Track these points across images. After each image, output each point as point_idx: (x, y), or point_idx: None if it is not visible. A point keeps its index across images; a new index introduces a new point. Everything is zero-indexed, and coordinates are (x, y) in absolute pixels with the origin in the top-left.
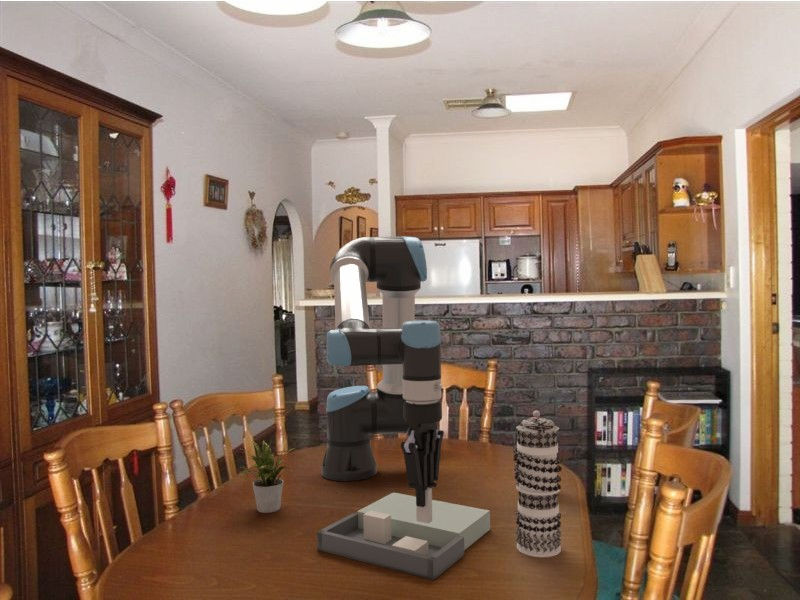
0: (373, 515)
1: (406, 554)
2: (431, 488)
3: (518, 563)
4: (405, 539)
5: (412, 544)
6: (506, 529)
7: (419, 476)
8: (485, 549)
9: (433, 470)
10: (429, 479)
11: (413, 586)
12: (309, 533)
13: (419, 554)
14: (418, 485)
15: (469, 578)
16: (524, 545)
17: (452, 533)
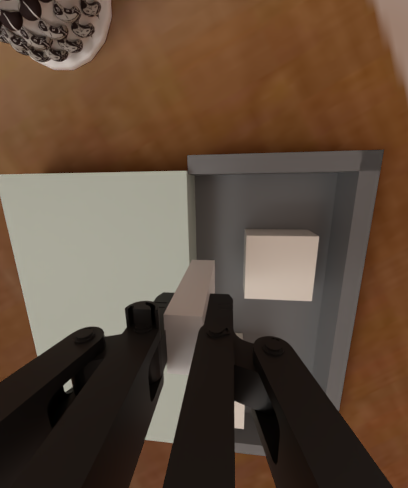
0: (238, 406)
1: (368, 237)
2: (166, 313)
3: (167, 8)
4: (263, 289)
5: (284, 260)
6: (14, 141)
7: (318, 415)
8: (140, 131)
9: (87, 385)
10: (152, 355)
11: (400, 182)
12: (256, 464)
13: (358, 205)
14: (298, 364)
15: (306, 82)
16: (98, 4)
17: (187, 193)
